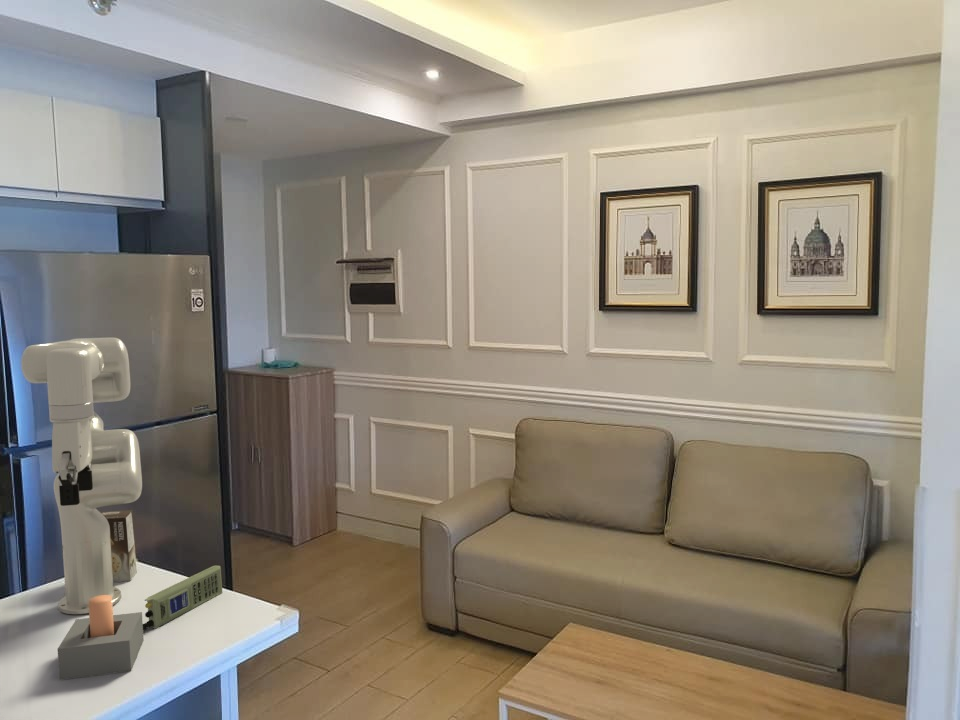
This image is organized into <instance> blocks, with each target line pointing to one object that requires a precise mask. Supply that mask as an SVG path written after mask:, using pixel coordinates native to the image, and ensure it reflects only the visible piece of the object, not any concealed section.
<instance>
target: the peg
mask: <svg viewBox="0 0 960 720" xmlns="http://www.w3.org/2000/svg"><path fill="white" fill-rule="evenodd" d="M113 606H114V605H113V604H112V596H110V595H100V596H96V597H93V598H91V599H90V600H89V613H88V618H89V619H90V635H91V638H93V637H101V636H110V635H114V622H113V615H114V610H113V609H114V607H113Z"/></svg>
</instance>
